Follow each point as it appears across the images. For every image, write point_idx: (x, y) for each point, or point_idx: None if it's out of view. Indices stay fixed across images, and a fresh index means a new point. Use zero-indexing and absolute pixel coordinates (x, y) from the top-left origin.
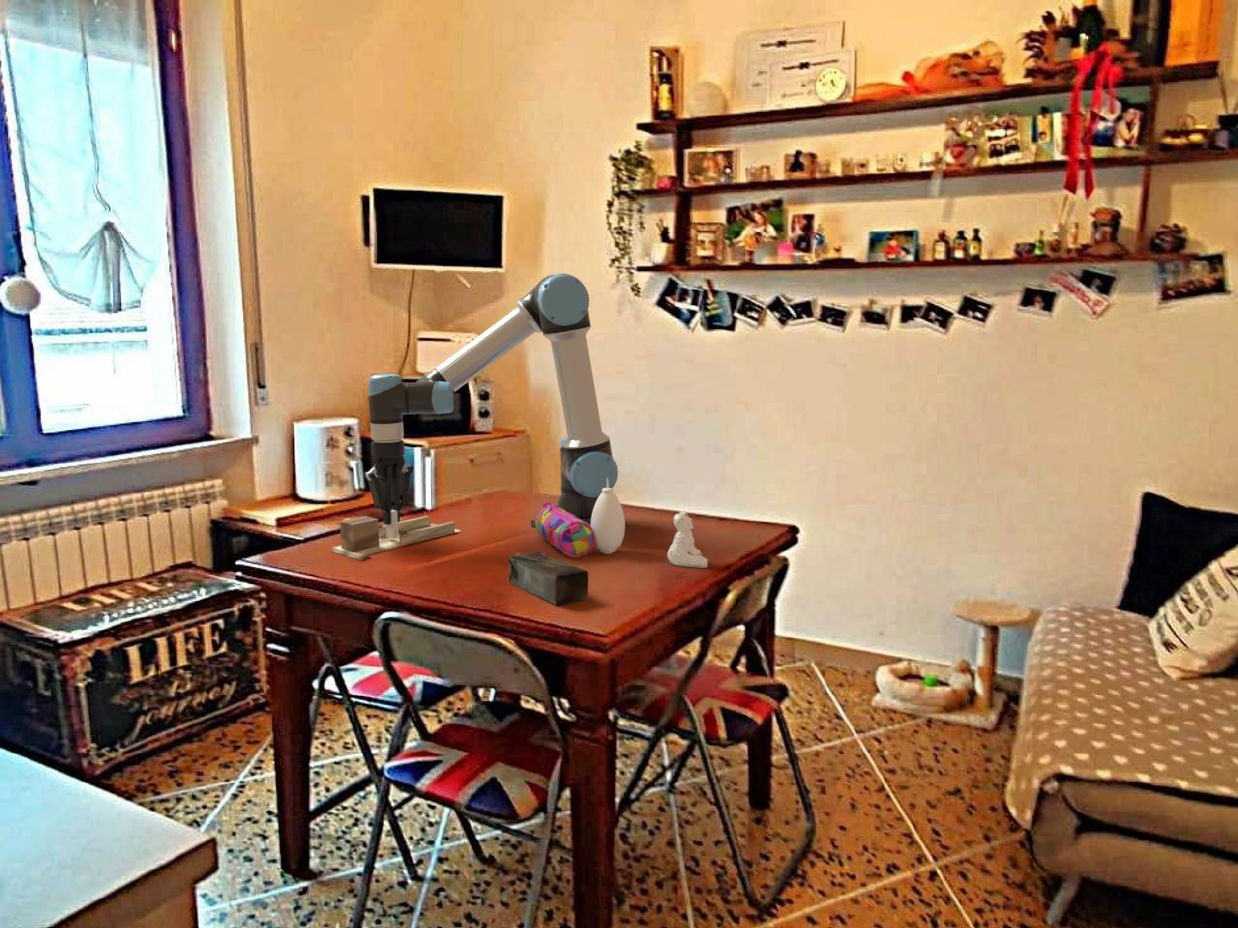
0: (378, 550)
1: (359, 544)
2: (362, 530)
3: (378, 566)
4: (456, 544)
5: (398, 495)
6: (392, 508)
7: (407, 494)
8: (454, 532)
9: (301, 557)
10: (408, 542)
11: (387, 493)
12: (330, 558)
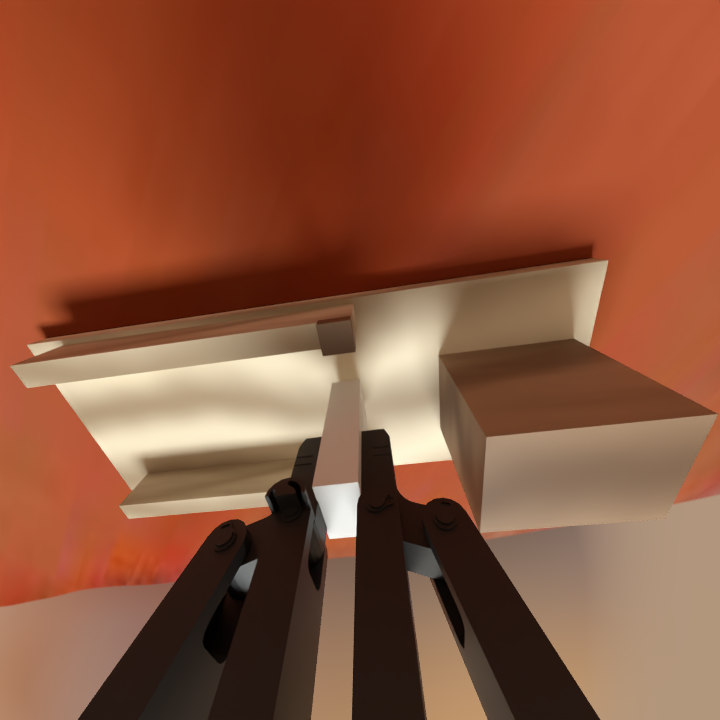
0: (487, 293)
1: (560, 354)
2: (586, 392)
3: (636, 66)
4: (99, 198)
5: (250, 643)
6: (323, 529)
7: (138, 637)
8: (66, 340)
9: None
10: (319, 309)
11: (411, 717)
12: (630, 367)
